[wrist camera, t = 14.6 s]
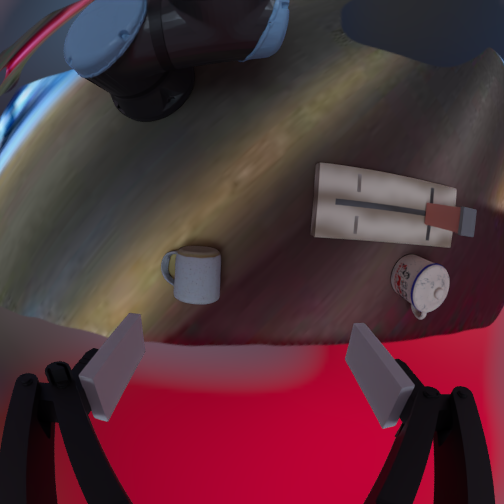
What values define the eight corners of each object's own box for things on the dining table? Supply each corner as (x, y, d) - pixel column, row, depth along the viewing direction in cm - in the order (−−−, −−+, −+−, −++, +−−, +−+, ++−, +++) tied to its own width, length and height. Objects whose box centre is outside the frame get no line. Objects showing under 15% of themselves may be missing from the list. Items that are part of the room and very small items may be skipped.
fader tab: (426, 201, 42) (464, 206, 32) (438, 203, 43) (476, 209, 32) (423, 225, 43) (460, 235, 33) (436, 226, 44) (473, 237, 33)
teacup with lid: (388, 256, 48) (422, 274, 37) (424, 249, 48) (460, 263, 37) (388, 312, 51) (416, 339, 39) (422, 302, 51) (453, 325, 39)
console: (315, 163, 44) (320, 162, 41) (447, 188, 45) (456, 188, 42) (310, 233, 47) (314, 236, 44) (441, 244, 48) (450, 247, 45)
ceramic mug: (223, 245, 47) (218, 255, 39) (221, 290, 49) (217, 308, 41) (163, 241, 47) (148, 250, 39) (164, 285, 48) (150, 302, 41)
